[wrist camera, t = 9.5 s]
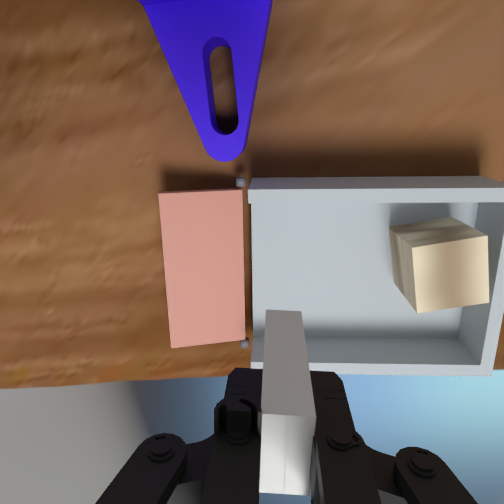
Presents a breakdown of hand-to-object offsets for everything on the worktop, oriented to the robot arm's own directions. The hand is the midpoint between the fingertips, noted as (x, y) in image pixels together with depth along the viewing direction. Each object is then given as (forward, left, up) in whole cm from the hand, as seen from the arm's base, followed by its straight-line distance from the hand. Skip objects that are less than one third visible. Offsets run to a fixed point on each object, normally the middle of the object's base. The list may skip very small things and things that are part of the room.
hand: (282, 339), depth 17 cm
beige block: (+14, -3, -24) cm, 28 cm away
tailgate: (-8, -5, -25) cm, 26 cm away
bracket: (-5, +15, -27) cm, 31 cm away
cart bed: (+9, -5, -27) cm, 29 cm away
